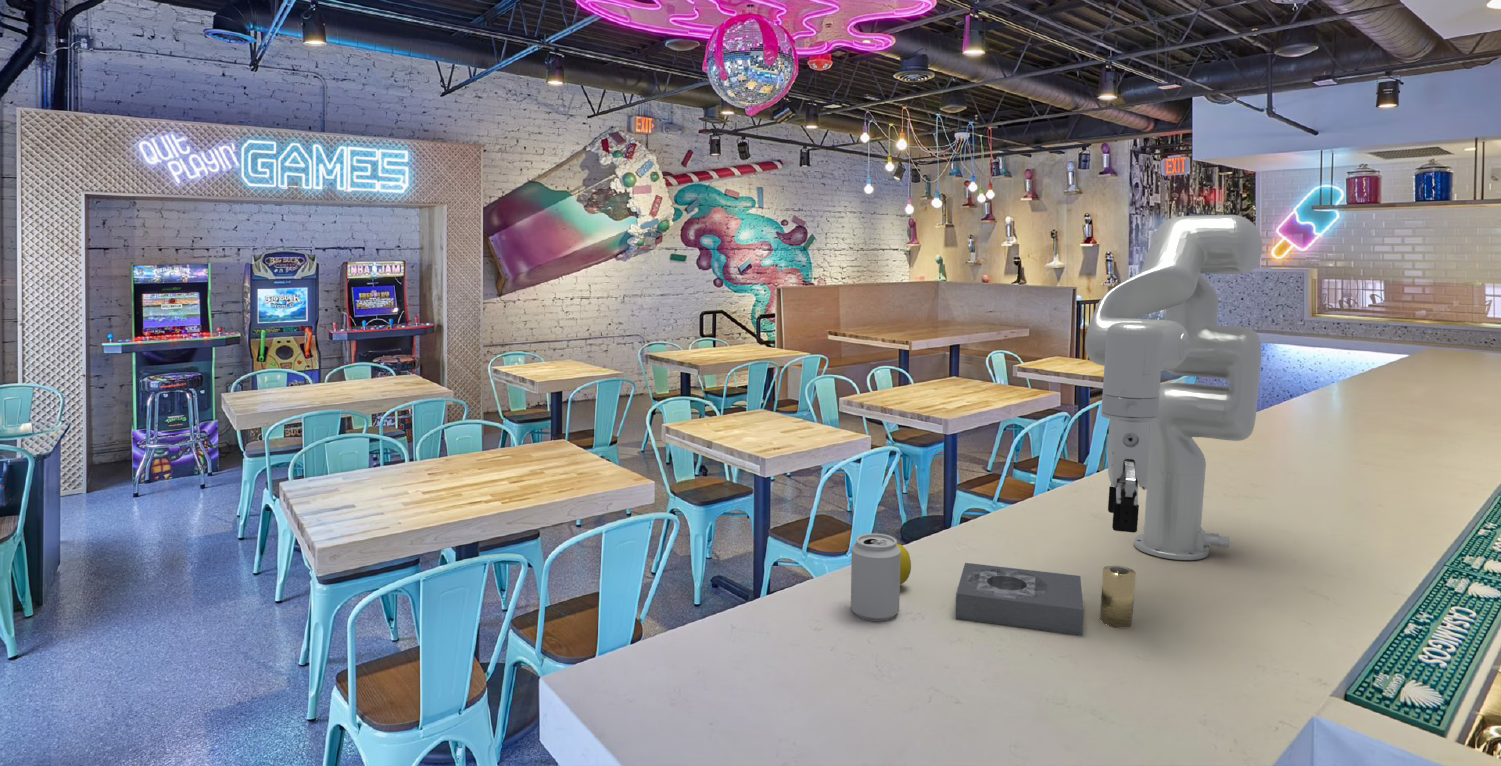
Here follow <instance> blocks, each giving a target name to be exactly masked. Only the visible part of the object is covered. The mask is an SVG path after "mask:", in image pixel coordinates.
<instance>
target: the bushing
mask: <svg viewBox="0 0 1501 766" xmlns="http://www.w3.org/2000/svg"><path fill="white" fill-rule="evenodd" d="M1136 575H1137V574H1136V571H1135V570H1134V569H1132V568H1130V567H1126V566H1121V565H1106V566H1103V568H1102V579H1101V580H1102V581H1101V593H1100V594H1101V596H1100V613H1099V621H1100V620H1101V621H1102V622H1103V623H1104V625H1105V624H1107V625H1106V626H1108V625H1109V626H1108V627H1111V626H1112V628H1116V627H1128V628H1131V627H1132V626H1133V618H1134V617H1133V616H1134V603H1135V602H1134V601H1135V591H1136V590H1135V588H1136ZM1101 621H1100V622H1101ZM1102 622H1101V623H1102ZM1103 623H1102V624H1103ZM1131 625H1132V626H1131ZM1130 626H1131V627H1130Z"/></svg>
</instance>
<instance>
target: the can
mask: <svg viewBox="0 0 1501 766" xmlns="http://www.w3.org/2000/svg"><path fill="white" fill-rule="evenodd" d="M896 543H898V541H897V539H896V538H895V537H893V536H891V535H889V534H883V533H863V534H861V535H858V536H857V537H856V538H855V543H854V545H852V546H851V562H850V563H851V567H850V568H851V570H850V571H851V573H850V575H851V576H850V609H851V610H852V612H853V613H854V614H855V615H856V616H857V617H859V618H861V619H862V620H865V621H871V622H883V621H888V620H890V619H892V618H894V616H896V615H897V614H898V613H899V612H900V603H901V602H900V600H901V599H900V596H901V595H900V593H901V587H900V586H901V585H900V562H901V550H900V548H899V547H898V546H897V545H896Z"/></svg>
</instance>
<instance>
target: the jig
mask: <svg viewBox="0 0 1501 766" xmlns="http://www.w3.org/2000/svg"><path fill="white" fill-rule="evenodd" d="M1081 577H1082V576H1081V575H1075V574H1069V573H1068V574H1066V573H1059V572H1058V573H1057V572H1051V571H1050V572H1049V571H1040V570H1033V569H1032V570H1031V569H1023V568H1017V567H1016V568H1014V567H1008V566H1007V567H1005V566H996V565H988V564H987V565H986V564H979V563H969V562H965V563H964V565H963V568H962V572H961V576H960V580H959V583H958V585H957V589H956V590H957V591H956V593H955V594H956V595H955V617H954V618H955V620H963V621H970V622H976V623H984V624H991V625H999V626H1006V627H1014V628H1020V627H1021V629H1029V630H1036V631H1042V632H1043V631H1045V632H1050V633H1057V632H1058V634H1067V635H1072V636H1073V635H1074V636H1079V635H1080V636H1079V637H1081V636H1083V625H1084V624H1083V623H1084V598H1083V591H1082V590H1083V589H1082V580H1081V579H1082V578H1081Z"/></svg>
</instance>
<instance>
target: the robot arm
mask: <svg viewBox="0 0 1501 766" xmlns="http://www.w3.org/2000/svg"><path fill="white" fill-rule="evenodd" d="M1257 227H1258V226H1256V225H1255V224H1254V223H1253V222H1252V221H1251V220H1249V219H1248V218H1247V217H1244V216H1241V215H1236V214H1218V215H1217V214H1214V215H1213V214H1211V215H1210V214H1208V215H1206V214H1205V215H1183V216H1181V215H1180V216H1175V217H1171V218H1169V219H1167V220H1165V221H1163V222H1162V223H1161V224H1159V226H1158V227H1157V228H1156V231H1155V232H1154V235H1153V238H1152V239H1151V244H1150V246H1149V248H1148V251H1147V254H1146V257H1145V259H1144V262H1143V264H1142V266H1141V267H1142V268H1141V271H1140V272H1138V273H1136V274H1134V275H1132V276H1130V277H1129V278H1127V279H1125V280H1124V281H1122V282H1120V283H1118V284H1117V285H1116V286H1114V287H1113V288H1112V289H1110V290H1108V291H1107V292H1106V293H1105V294H1104V295H1103V296H1102V297H1101V298H1100V300H1099V302H1098V303H1097V304H1096V307H1095V308H1094V311H1093V314H1092V317H1091V320H1090V321H1089V325H1088V327H1087V331H1086V334H1085V339H1084V340H1085V342H1084V347H1085V352H1086V356H1087V358H1088V359H1089V360H1090V361H1091V362H1093V364H1096V365H1097V366H1098V365H1099V366H1104V367H1103V380H1102V381H1103V385H1102V395H1101V396H1102V398H1101V410H1100V411H1101V412H1100V416H1101V417H1103V418H1105V419H1108V420H1109V421H1108V422H1109V423H1108V438H1107V441H1108V442H1107V473H1108V478H1109V481H1110V486H1109V489H1108V500H1107V504H1108V505H1107V512H1108V513H1112V514H1113V515H1112V530H1113V531H1114V532H1123V533H1124V532H1125V533H1131V534H1132V533H1137V532H1138V524H1139V523H1138V521H1139V511H1140V509H1139V508H1140V505H1139V488H1141V489H1142V490H1144V491H1146V496H1145V497H1146V498H1145V510H1144V525H1143V526H1144V527H1143V534H1139V535H1136V536H1135V537H1134V540H1133V545H1134V546H1135V548H1136V549H1137V550H1138V551H1140V552H1142V553H1145V554H1148V555H1150V556H1151V555H1152V556H1153V557H1158V558H1163V559H1168V560H1176V561H1177V560H1178V561H1196V560H1202V559H1204V558H1207V557H1208V556H1209V551H1210V549H1209V548H1210V546H1216V547H1219V548H1229V547H1230V537H1229V536H1222V535H1221V536H1220V534H1219V533H1214V532H1211V533H1209V532H1205V531H1204V529H1203V527H1202V519H1203V518H1202V517H1203V506H1204V492H1205V483H1206V480H1205V479H1206V469H1207V464H1206V463H1207V462H1206V458H1205V454H1204V453H1203V451H1202V450H1201V448H1200V447H1199V445H1198V444H1197V443H1196V441H1195V440H1194V438H1205V439H1214V440H1221V441H1222V440H1224V441H1230V442H1233V441H1234V442H1236V441H1237V442H1239V441H1245V440H1247V439H1248V438H1250V436H1251V435H1252V433H1253V431H1254V428H1255V424H1256V417H1257V409H1258V408H1257V407H1258V398H1259V387H1260V377H1261V368H1262V354H1263V353H1262V343H1261V339H1260V336H1259V334H1258V333H1257V332H1256V331H1255V330H1253V329H1251V328H1250V327H1245V326H1237V325H1235V326H1233V325H1232V326H1231V325H1218V323H1217V322H1218V320H1217V319H1218V310H1219V296H1218V294H1217V292H1216V290H1215V289H1214V288H1213V286H1212V285H1211V284H1210V283H1209V281H1208V280H1207V279H1206V278H1205V277H1204V276H1203V275H1202V274H1207V275H1208V274H1209V275H1213V274H1214V275H1228V274H1229V275H1242V274H1243V275H1245V274H1249V273H1252V272H1253V271H1254V270H1255V269H1256V268H1257V267H1258V265H1259V263H1260V261H1261V257H1262V251H1263V240H1262V236H1261V232H1260V230H1259V228H1257ZM1161 311H1165V314H1164V315H1165V316H1164V319H1152V318H1151V319H1150V318H1147V319H1145V318H1138V317H1141V316H1145V315H1149V314H1154V313H1157V312H1161ZM1161 371H1166V372H1168V373H1170V374H1172V375H1178V376H1183V377H1184V376H1185V377H1194V378H1195V377H1196V378H1208V379H1209V378H1210V379H1220V380H1226V381H1227V383H1229V384H1228V385H1229V386H1222V385H1221V386H1219V385H1208V384H1207V385H1206V384H1198V383H1185V382H1167V383H1162V384H1161V378H1162V377H1161V375H1162V372H1161Z"/></svg>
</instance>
